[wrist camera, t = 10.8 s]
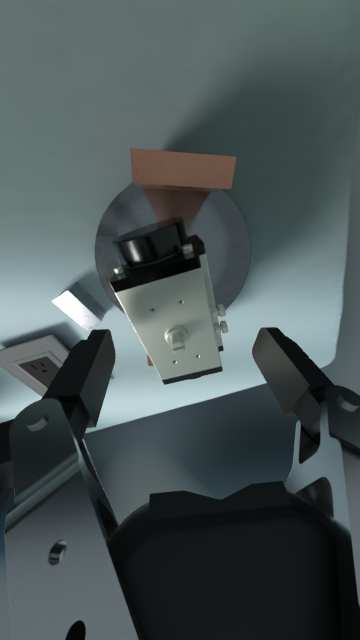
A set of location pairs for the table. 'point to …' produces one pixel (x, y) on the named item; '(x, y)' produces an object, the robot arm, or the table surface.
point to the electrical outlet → (35, 361)
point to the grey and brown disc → (181, 215)
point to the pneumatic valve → (170, 299)
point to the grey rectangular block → (80, 306)
